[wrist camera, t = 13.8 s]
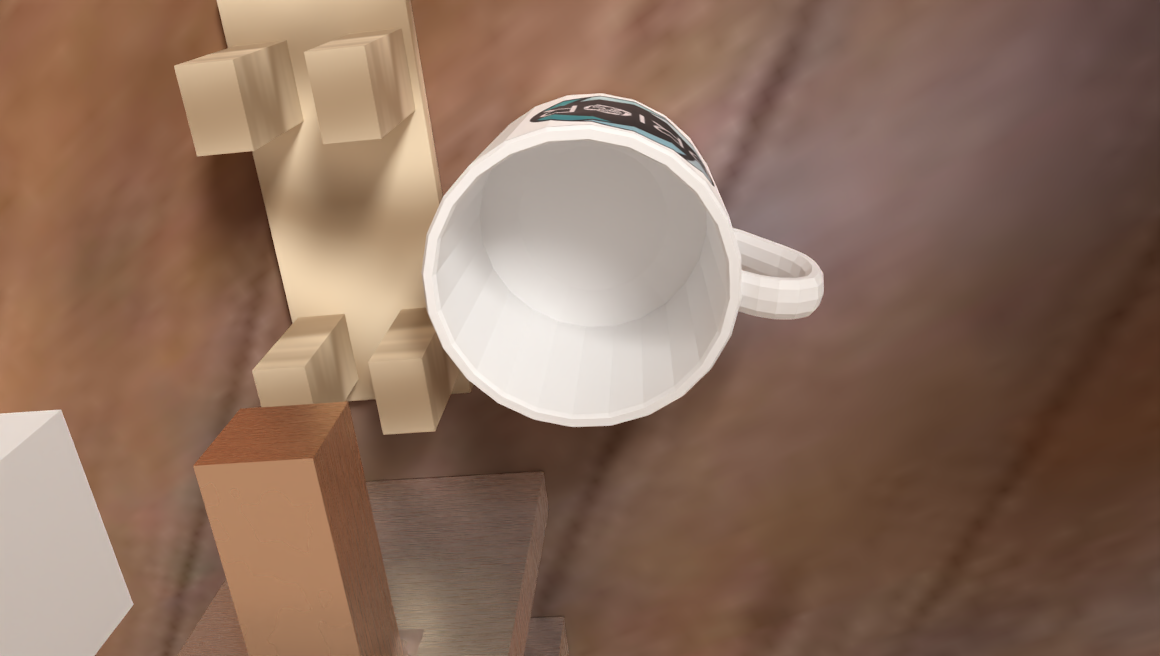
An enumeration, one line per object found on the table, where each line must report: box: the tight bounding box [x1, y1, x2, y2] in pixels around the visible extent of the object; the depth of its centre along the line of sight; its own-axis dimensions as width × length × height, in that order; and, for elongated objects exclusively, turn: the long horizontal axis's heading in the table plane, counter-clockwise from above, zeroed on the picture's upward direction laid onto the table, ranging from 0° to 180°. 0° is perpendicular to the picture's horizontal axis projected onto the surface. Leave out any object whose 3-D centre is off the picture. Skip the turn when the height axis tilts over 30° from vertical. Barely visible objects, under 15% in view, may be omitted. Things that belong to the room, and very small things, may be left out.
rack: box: [174, 0, 474, 435], centre depth 37 cm, size 17×7×6 cm, turn 6°
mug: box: [421, 93, 824, 427], centre depth 36 cm, size 13×10×8 cm
